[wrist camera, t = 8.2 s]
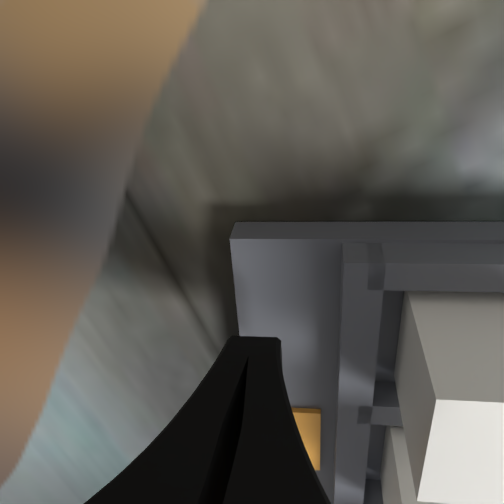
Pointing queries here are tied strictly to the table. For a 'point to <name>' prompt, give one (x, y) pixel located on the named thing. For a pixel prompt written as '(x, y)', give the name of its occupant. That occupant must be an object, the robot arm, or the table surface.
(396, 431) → the white block
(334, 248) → the switch bank
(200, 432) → the robot arm
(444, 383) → the white block
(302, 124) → the table surface
